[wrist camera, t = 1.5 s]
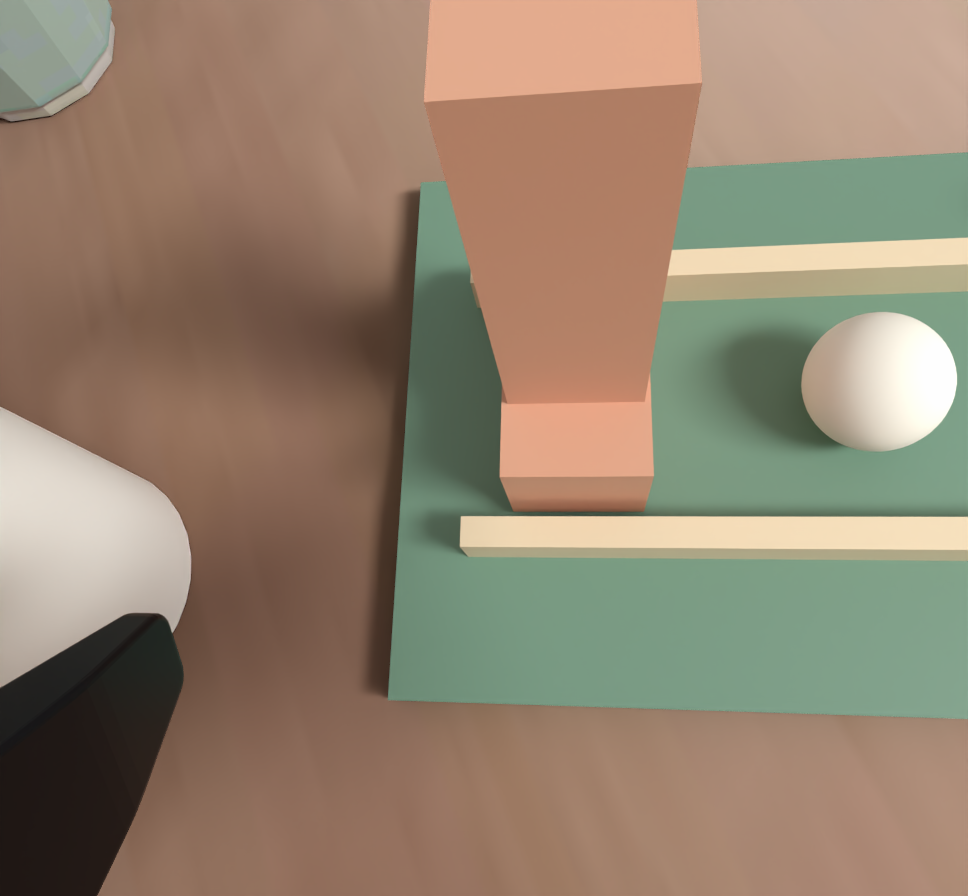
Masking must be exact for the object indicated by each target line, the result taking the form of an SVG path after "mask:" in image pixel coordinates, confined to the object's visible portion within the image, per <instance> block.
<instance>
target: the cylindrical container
mask: <svg viewBox="0 0 968 896" xmlns="http://www.w3.org/2000/svg"><path fill="white" fill-rule="evenodd" d="M190 581H191V553H190V547H189V541H188V535H187V532H186V530H185V527H184V525H183V522H182V520H181V517H180V515H179V513H178V512H177V510H176V509H175V507H174V506H173V504H172V503H171V502H170V500H169V499H168V497H167V496H166V495H165V494H163V493H162V492H161V491H160V490H159V489H158V488H157V487H155V486H154V485H153V484H152V483H151V482H149V481H147V480H145V479H143V478H141V477H139V476H137V475H135V474H133V473H131V472H129V471H127V470H125V469H123V468H121V467H119V466H117V465H115V464H113V463H111V462H109V461H107V460H105V459H103V458H101V457H99V456H97V455H95V454H93V453H91V452H89V451H87V450H86V449H84V448H82V447H80V446H78V445H76V444H74V443H72V442H70V441H68V440H66V439H64V438H62V437H60V436H58V435H56V434H54V433H52V432H50V431H48V430H46V429H44V428H42V427H40V426H38V425H36V424H34V423H32V422H30V421H28V420H26V419H24V418H22V417H20V416H18V415H16V414H14V413H12V412H10V411H8V410H6V409H4V408H2V407H0V687H2V686H4V685H5V684H7V683H9V682H11V681H12V680H14V679H16V678H17V677H19V676H21V675H22V674H24V673H26V672H28V671H29V670H31V669H33V668H34V667H36V666H38V665H39V664H41V663H43V662H45V661H46V660H48V659H50V658H51V657H53V656H55V655H56V654H58V653H60V652H62V651H63V650H65V649H67V648H68V647H70V646H72V645H73V644H75V643H77V642H79V641H80V640H82V639H84V638H85V637H87V636H89V635H90V634H92V633H94V632H96V631H97V630H99V629H101V628H102V627H104V626H106V625H108V624H109V623H111V622H113V621H114V620H116V619H118V618H119V617H121V616H123V615H125V614H128V613H159V614H161V615H163V616H165V618H166V619H167V620H168V622H169V624H170V627H171V631H172V633H173V631H174V630H175V628H176V626H177V625H178V622H179V620H180V617H181V614H182V612H183V609H184V606H185V604H186V600H187V595H188V590H189V586H190Z"/></svg>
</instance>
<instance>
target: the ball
mask: <svg viewBox="0 0 968 896" xmlns="http://www.w3.org/2000/svg"><path fill="white" fill-rule="evenodd" d="M956 386H957V372H956V366H955V362H954V359H953V356H952V354H951V352H950V349H949V348H948V346H947V345H946V343H945V342H944V341H943V339H942V338H941V337H940V336H939V335H938V334H937V333H936V332H935V331H934V330H933V329H931V328H930V327H929V326H927V325H926V324H924V323H922V322H921V321H919V320H917V319H914V318H912V317H909V316H906V315H903V314H898V313H891V312H873V313H865V314H861V315H857V316H855V317H852V318H849V319H847V320H844V321H842V322H841V323H839V324H837V325H836V326H834V327H833V328H831V329H830V330H829V331H827V332H826V333H825V334H824V335H823V336H822V337H821V338H820V339H819V340H818V341H817V343H816V344H815V345H814V347H813V348H812V350H811V351H810V353H809V355H808V357H807V360H806V362H805V365H804V368H803V372H802V382H801V388H802V396H803V400H804V404H805V407H806V409H807V412H808V413H809V415H810V417H811V419H812V420H813V421H814V423H815V424H816V425H817V426H818V428H819V429H820V430H821V431H822V432H824V433H825V434H826V435H827V436H828V437H830V438H831V439H833V440H834V441H836V442H838V443H840V444H842V445H844V446H847V447H850V448H853V449H857V450H862V451H872V452H882V451H891V450H895V449H899V448H903V447H906V446H908V445H911V444H913V443H915V442H917V441H919V440H920V439H922V438H924V437H925V436H927V435H928V434H929V433H931V432H932V431H933V430H934V429H935V428H936V427H937V426H938V425H939V424H940V423H941V421H942V420H943V419H944V417H945V416H946V414H947V413H948V411H949V409H950V407H951V405H952V403H953V400H954V397H955V392H956Z"/></svg>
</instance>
